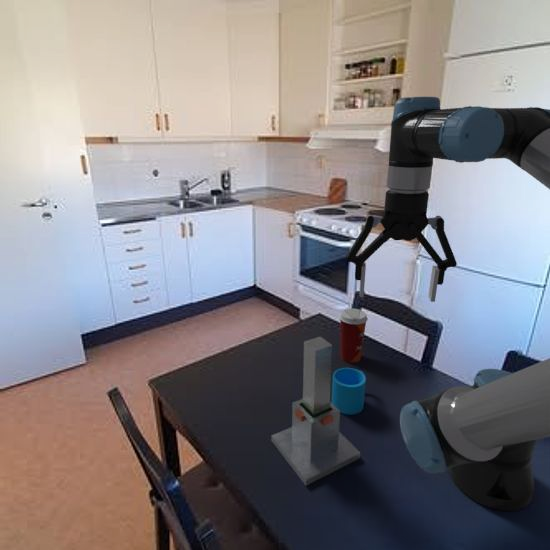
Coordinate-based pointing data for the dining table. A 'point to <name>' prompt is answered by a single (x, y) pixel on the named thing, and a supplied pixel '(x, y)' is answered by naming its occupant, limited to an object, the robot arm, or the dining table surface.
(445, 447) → the robot arm
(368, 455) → the dining table surface
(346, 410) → the mug
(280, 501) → the dining table surface
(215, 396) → the dining table surface
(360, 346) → the coffee cup
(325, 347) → the column
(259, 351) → the dining table surface
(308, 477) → the stand base
